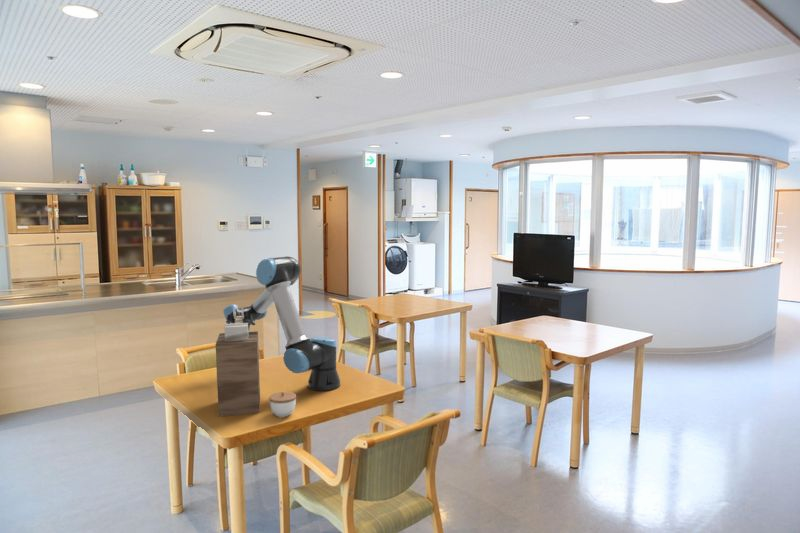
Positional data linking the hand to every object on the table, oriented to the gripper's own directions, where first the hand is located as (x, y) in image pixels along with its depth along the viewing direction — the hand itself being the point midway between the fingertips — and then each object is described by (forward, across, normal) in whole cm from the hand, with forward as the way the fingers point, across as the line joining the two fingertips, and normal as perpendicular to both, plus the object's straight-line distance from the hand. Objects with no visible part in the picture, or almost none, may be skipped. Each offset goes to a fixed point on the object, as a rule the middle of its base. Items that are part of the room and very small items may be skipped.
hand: (238, 311), depth 239 cm
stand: (-9, 0, -40) cm, 41 cm away
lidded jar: (+2, -18, -47) cm, 50 cm away
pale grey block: (0, 0, -10) cm, 10 cm away
